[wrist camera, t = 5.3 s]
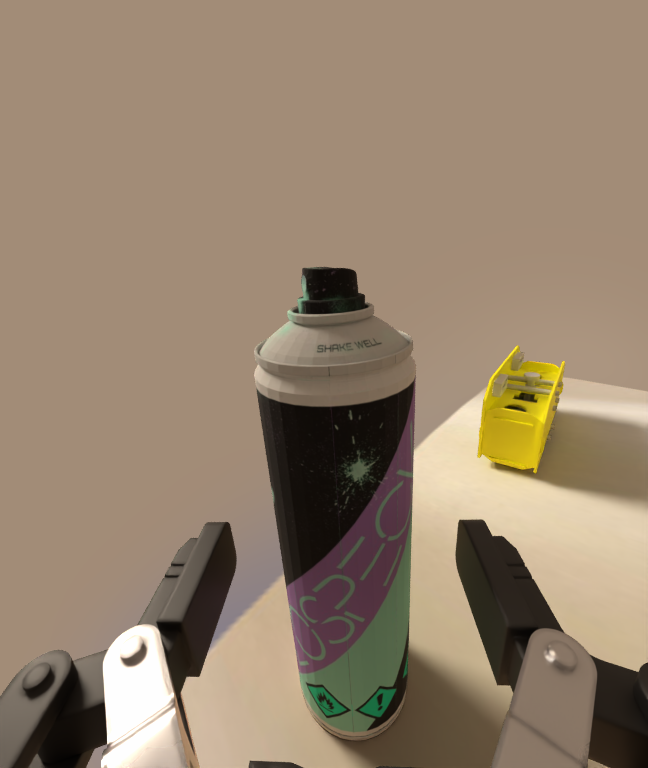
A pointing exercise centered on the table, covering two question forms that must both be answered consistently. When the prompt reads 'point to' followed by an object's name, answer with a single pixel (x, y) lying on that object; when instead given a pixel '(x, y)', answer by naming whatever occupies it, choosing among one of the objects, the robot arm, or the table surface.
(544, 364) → the yellow toy chassis
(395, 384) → the spray can
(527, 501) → the table surface
